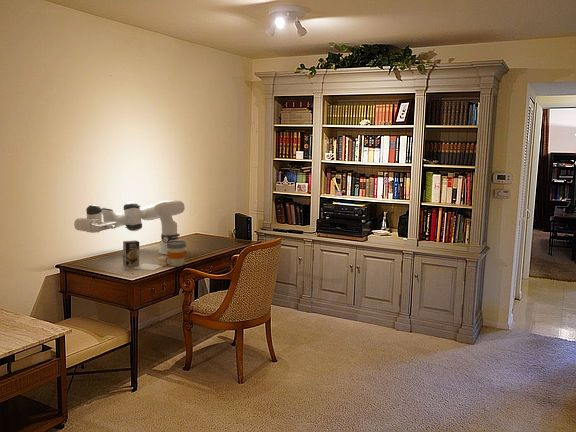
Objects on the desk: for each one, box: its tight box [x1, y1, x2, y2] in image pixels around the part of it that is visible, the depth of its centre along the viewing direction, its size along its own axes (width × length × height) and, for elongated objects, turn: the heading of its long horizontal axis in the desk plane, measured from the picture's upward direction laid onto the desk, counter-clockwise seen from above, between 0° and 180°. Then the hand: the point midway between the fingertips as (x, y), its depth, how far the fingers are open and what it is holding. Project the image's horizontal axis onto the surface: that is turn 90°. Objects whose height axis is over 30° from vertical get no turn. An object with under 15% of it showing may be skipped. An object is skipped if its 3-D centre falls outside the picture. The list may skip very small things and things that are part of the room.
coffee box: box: [122, 240, 140, 268], centre depth 345 cm, size 9×6×16 cm
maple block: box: [157, 256, 168, 266], centre depth 351 cm, size 5×5×5 cm
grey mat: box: [132, 263, 164, 271], centre depth 342 cm, size 14×14×1 cm
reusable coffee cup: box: [167, 240, 187, 267], centre depth 351 cm, size 13×12×15 cm
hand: (114, 227), depth 346 cm, fingers closed
